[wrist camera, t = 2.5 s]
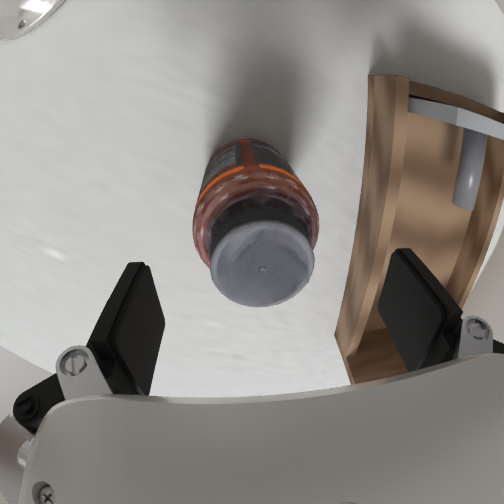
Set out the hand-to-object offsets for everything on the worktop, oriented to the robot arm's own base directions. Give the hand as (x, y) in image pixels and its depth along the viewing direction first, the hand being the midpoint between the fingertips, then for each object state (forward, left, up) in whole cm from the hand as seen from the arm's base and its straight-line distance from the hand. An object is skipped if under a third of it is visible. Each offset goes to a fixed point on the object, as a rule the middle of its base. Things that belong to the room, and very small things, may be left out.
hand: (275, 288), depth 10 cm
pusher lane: (+4, +16, -12) cm, 20 cm away
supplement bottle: (-1, 0, -12) cm, 12 cm away
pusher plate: (-4, +16, -10) cm, 19 cm away
